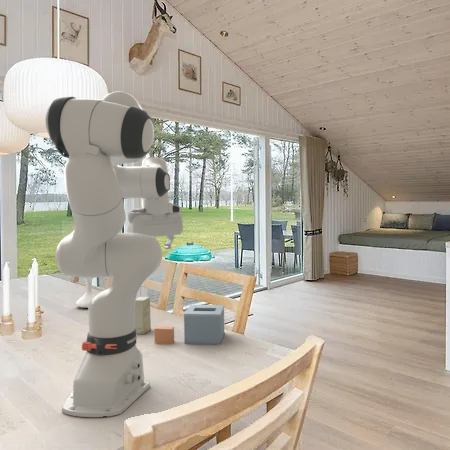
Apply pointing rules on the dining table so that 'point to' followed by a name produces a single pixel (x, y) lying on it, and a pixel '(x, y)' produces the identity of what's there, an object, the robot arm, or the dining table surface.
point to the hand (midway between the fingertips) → (156, 250)
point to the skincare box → (142, 315)
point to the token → (164, 335)
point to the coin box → (204, 324)
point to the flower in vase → (86, 295)
